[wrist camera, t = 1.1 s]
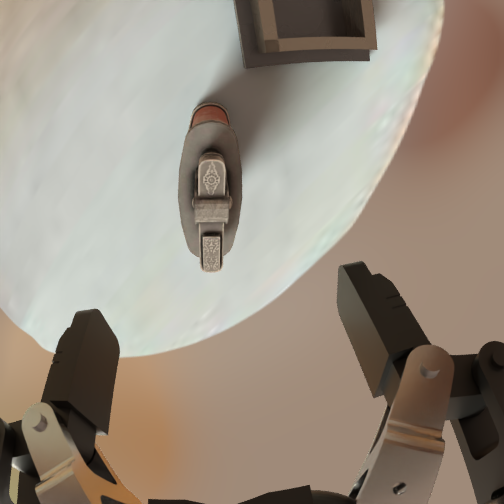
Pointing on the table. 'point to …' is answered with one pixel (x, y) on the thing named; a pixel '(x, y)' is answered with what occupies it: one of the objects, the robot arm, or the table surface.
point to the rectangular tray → (304, 31)
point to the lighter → (210, 185)
